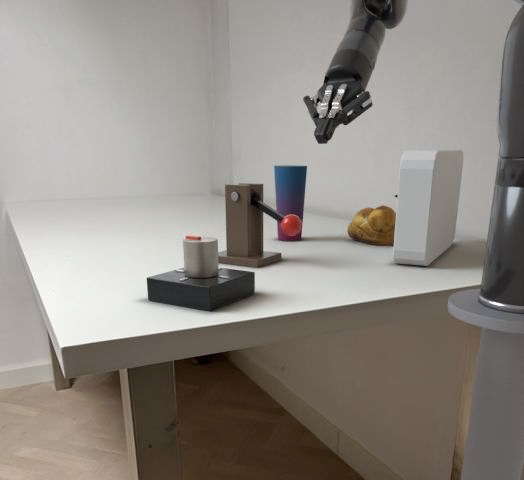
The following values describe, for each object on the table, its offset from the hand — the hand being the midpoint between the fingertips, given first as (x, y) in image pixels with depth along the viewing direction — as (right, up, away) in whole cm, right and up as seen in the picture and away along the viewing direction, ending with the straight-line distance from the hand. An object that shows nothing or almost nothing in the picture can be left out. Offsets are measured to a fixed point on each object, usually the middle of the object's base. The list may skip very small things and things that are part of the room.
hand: (320, 140), depth 93 cm
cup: (-4, -12, +26) cm, 29 cm away
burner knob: (-18, -25, -21) cm, 37 cm away
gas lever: (-9, -14, -1) cm, 16 cm away
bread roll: (+14, -13, +23) cm, 29 cm away
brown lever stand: (-13, -20, +4) cm, 24 cm away
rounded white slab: (+21, -18, +10) cm, 29 cm away
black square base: (-18, -28, -20) cm, 39 cm away
